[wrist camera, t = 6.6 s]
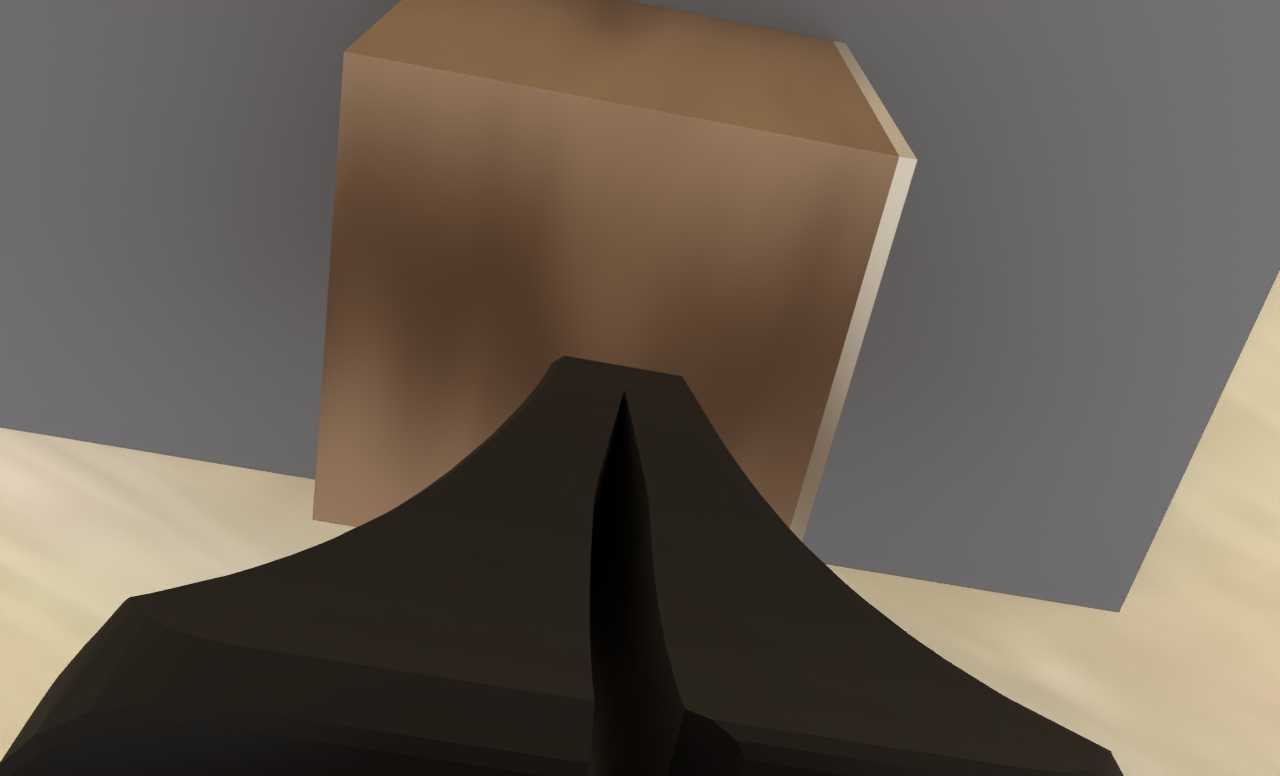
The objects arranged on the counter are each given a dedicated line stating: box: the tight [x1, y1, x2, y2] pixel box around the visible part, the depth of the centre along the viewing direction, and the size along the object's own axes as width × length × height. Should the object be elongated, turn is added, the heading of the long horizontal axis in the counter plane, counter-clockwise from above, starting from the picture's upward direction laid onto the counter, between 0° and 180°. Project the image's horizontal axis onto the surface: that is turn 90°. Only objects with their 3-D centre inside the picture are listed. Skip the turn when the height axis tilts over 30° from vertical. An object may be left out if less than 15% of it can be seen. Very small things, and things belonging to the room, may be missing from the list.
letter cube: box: [313, 0, 917, 541], centre depth 17 cm, size 6×6×6 cm
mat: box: [0, 0, 1280, 612], centre depth 19 cm, size 13×23×1 cm, turn 80°
